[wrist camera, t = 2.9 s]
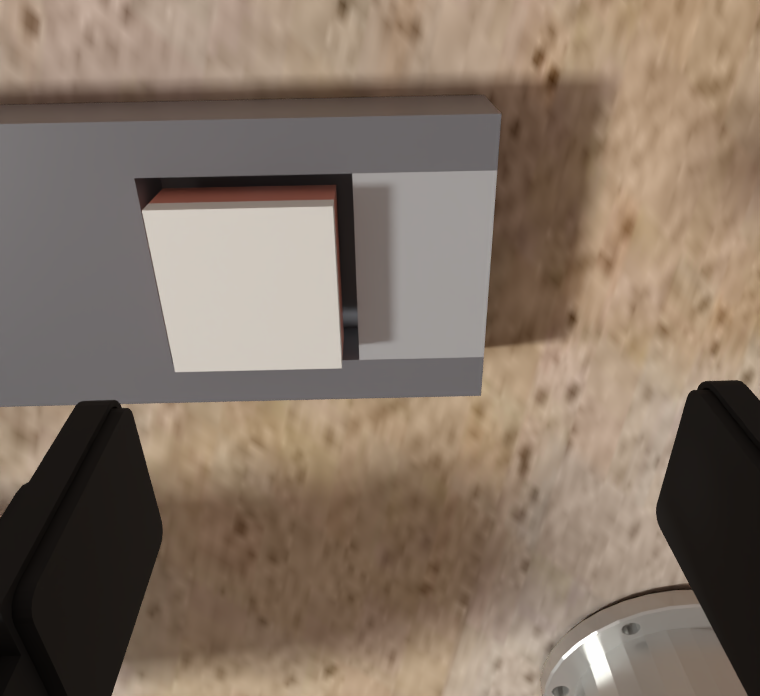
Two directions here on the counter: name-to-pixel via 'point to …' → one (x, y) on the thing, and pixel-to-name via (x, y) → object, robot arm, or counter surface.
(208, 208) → the outlet button
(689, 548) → the robot arm
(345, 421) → the counter surface
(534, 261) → the counter surface
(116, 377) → the power strip
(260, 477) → the counter surface
